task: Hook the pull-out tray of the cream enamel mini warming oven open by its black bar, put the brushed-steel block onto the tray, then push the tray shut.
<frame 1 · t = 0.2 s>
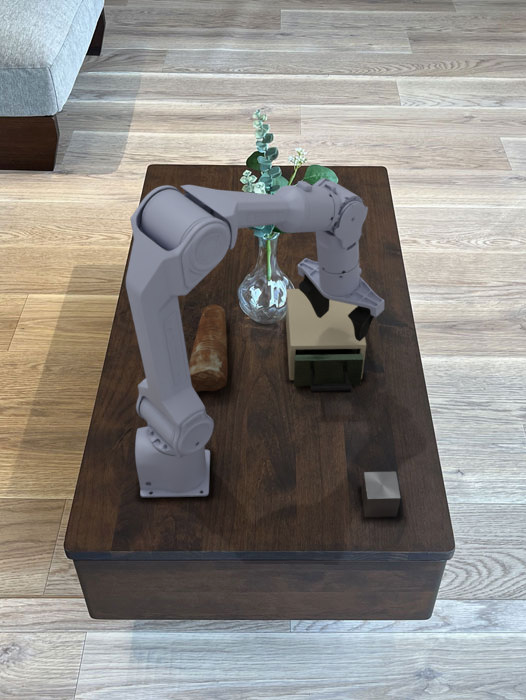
hand: (342, 324, 121), 10 cm above the table, tool pointing down, fingers open, 7 cm apart
block: (378, 503, 110), on the table
drawer: (326, 355, 125), point 4 cm above the table, slide at 1.0 cm
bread: (207, 356, 131), on the table
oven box: (322, 350, 132), on the table
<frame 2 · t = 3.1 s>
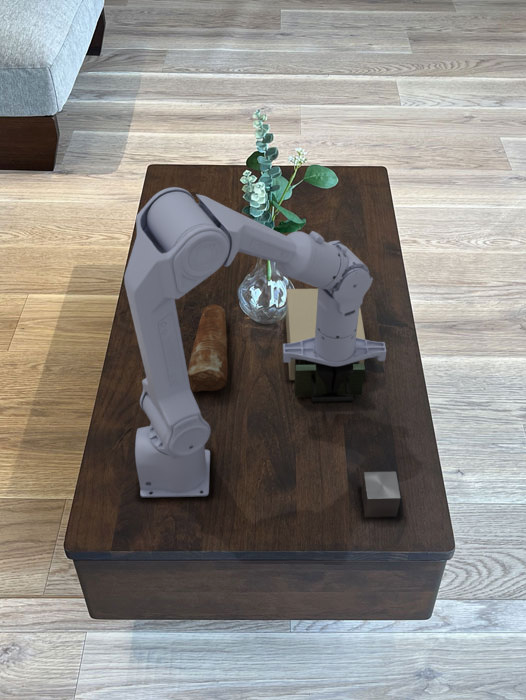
hand: (330, 391, 119), 4 cm above the table, tool pointing down, fingers closed, pressing on drawer
drawer: (327, 365, 124), point 4 cm above the table, slide at 3.1 cm, touching gripper
everything else where it was.
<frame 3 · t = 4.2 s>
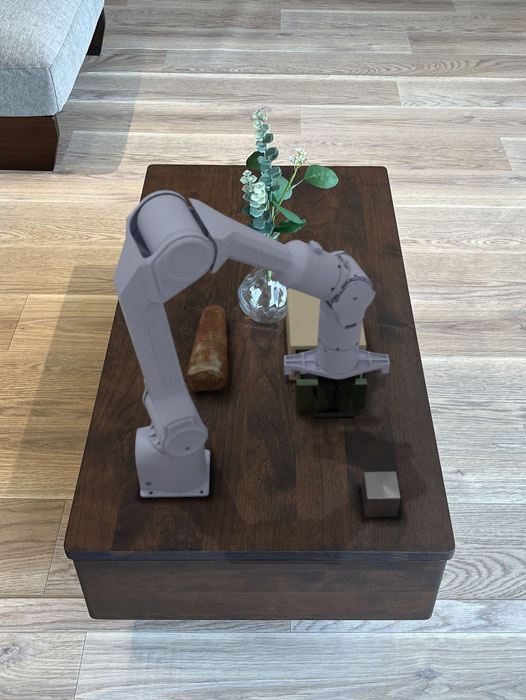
hand: (332, 404, 116), 5 cm above the table, tool pointing down, fingers closed
drawer: (328, 379, 122), point 4 cm above the table, slide at 6.2 cm
everything else where it was.
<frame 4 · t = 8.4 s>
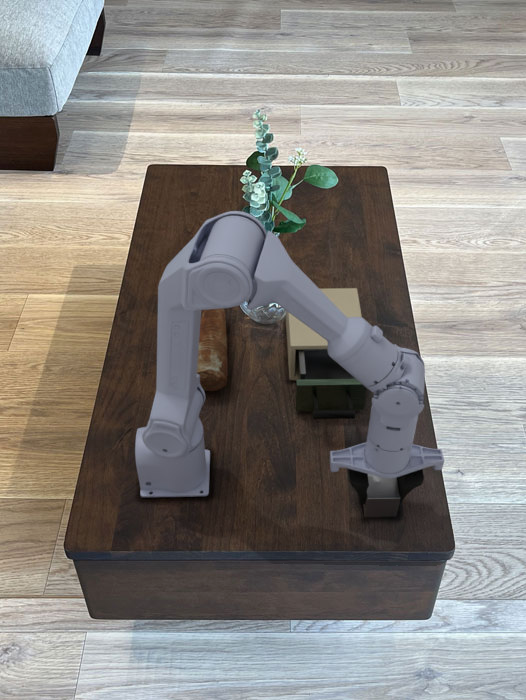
hand: (379, 497, 109), 1 cm above the table, tool pointing down, fingers closed on block, 4 cm apart
block: (378, 503, 110), on the table, touching gripper
everything else where it was.
when the fingers open (9 cm above the table, at t = 12.8 s): block drops 3 cm and tips over, resting on drawer.
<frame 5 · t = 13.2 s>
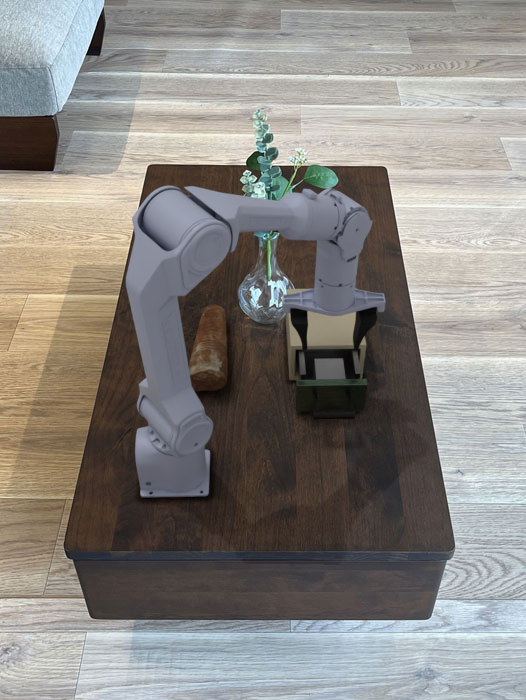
hand: (330, 344, 119), 9 cm above the table, tool pointing down, fingers open, 7 cm apart
block: (327, 368, 123), point 4 cm above the table, tilted 90°, touching drawer
drawer: (329, 379, 122), point 4 cm above the table, slide at 6.3 cm, touching block
everything else where it was.
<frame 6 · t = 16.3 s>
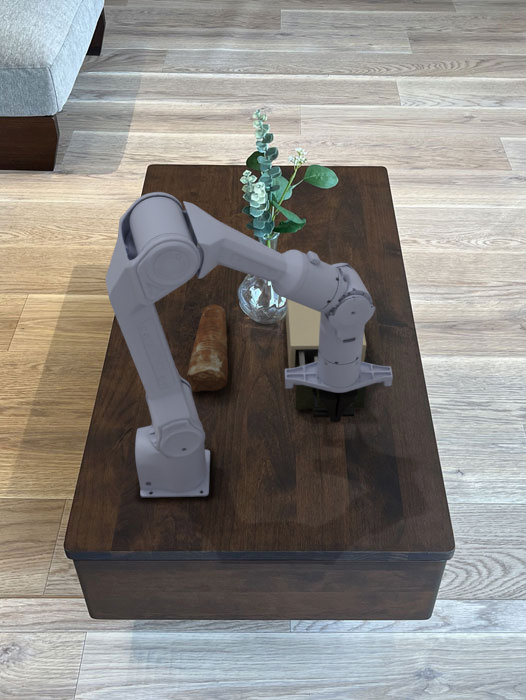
hand: (335, 416, 114), 5 cm above the table, tool pointing down, fingers closed, pressing on drawer
drawer: (328, 377, 122), point 4 cm above the table, slide at 5.8 cm, touching block, gripper
everything else where it was.
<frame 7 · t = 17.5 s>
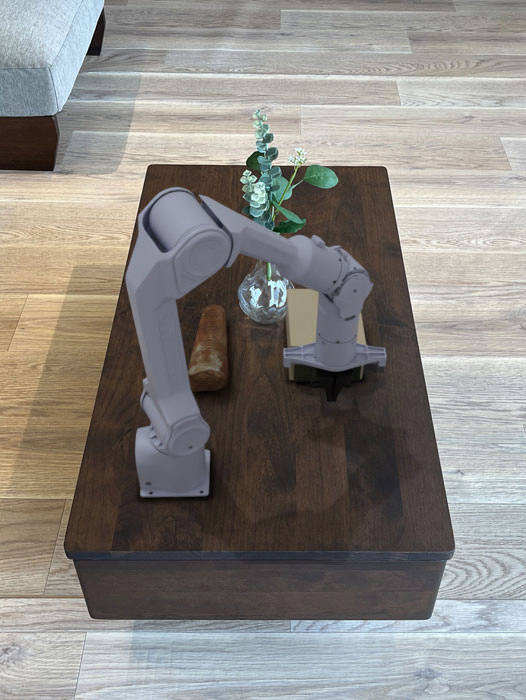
hand: (331, 396, 119), 4 cm above the table, tool pointing down, fingers closed, pressing on drawer
block: (324, 338, 128), point 4 cm above the table, tilted 90°, touching drawer
drawer: (325, 351, 126), point 4 cm above the table, slide at 0.0 cm, touching block, gripper, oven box
everything else where it was.
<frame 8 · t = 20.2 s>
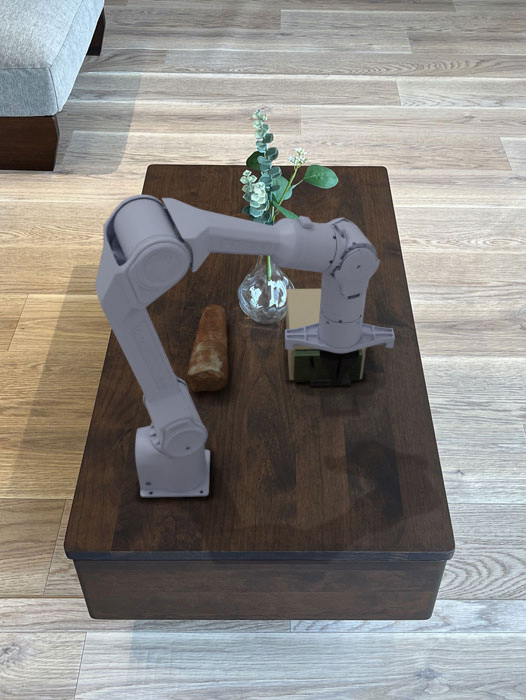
hand: (335, 381, 112), 10 cm above the table, tool pointing down, fingers closed
drawer: (325, 351, 126), point 4 cm above the table, slide at 0.0 cm, touching block
everything else where it was.
at the end: drawer pulled out 6.3 cm at the most during the clip, back to where it started at the end; block inside the target area in the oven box (1.4 cm from its centre), point 4.2 cm above the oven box's base; drawer slide at 0.0 cm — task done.
